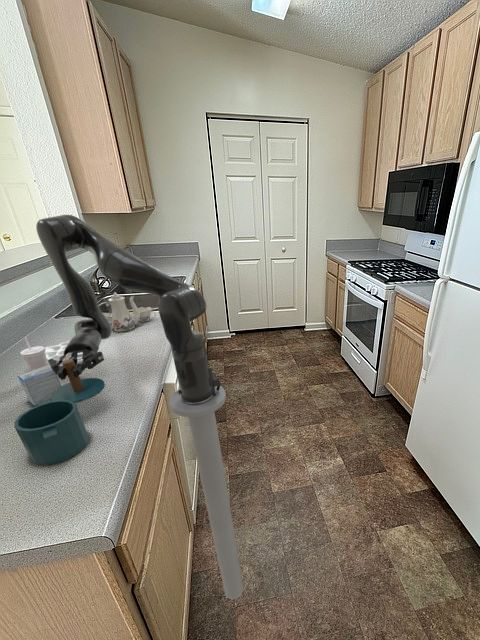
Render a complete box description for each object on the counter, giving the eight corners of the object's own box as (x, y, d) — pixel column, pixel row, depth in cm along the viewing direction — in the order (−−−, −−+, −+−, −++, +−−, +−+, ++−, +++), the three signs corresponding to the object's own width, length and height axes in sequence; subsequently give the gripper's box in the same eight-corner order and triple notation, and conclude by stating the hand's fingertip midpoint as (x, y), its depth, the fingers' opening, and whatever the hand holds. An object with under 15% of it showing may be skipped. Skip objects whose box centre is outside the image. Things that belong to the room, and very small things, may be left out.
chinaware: (154, 318, 162) (146, 284, 156) (160, 325, 149) (152, 288, 143) (89, 330, 150) (77, 293, 143) (89, 339, 136) (76, 299, 130)
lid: (101, 376, 97) (91, 347, 93) (109, 394, 88) (99, 362, 84) (50, 391, 90) (37, 360, 86) (54, 412, 81) (39, 378, 77)
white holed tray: (46, 351, 126) (89, 346, 130) (28, 373, 111) (78, 366, 115) (43, 343, 124) (87, 338, 128) (24, 364, 109) (75, 357, 113)
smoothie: (39, 372, 111) (22, 334, 105) (59, 371, 112) (44, 333, 105) (27, 382, 105) (9, 342, 99) (48, 381, 106) (31, 341, 100)
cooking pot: (83, 420, 87) (71, 390, 83) (94, 455, 75) (81, 422, 71) (30, 438, 81) (14, 406, 77) (33, 480, 69) (14, 445, 65)
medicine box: (58, 389, 101) (48, 364, 97) (65, 393, 99) (55, 368, 95) (28, 401, 96) (16, 375, 92) (34, 406, 93) (22, 380, 89)
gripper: (51, 340, 94) (30, 367, 80) (105, 333, 98) (94, 357, 84) (60, 364, 98) (41, 393, 83) (112, 355, 102) (103, 382, 87)
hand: (68, 375), depth 84 cm, fingers closed on lid, 2 cm apart
